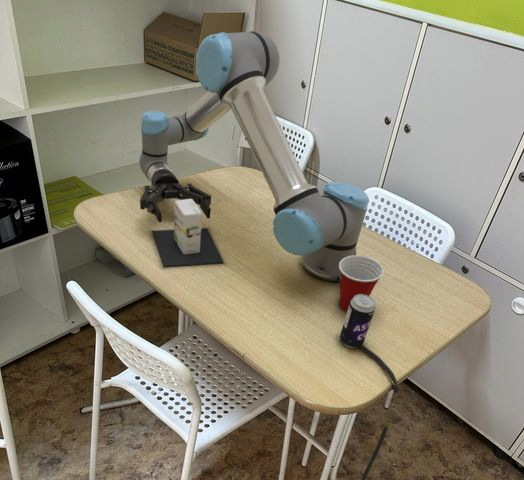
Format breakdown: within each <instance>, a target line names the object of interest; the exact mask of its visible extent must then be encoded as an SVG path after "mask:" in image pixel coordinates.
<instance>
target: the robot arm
mask: <svg viewBox="0 0 524 480" xmlns="http://www.w3.org/2000/svg"><path fill="white" fill-rule="evenodd" d="M195 62H196V63H195V67H196V69H195V70H196V75H197V78H198V82H199V83H200V85H201V87H202V88H203V89H204V90H205V91H206V92H205V93H204V94H203V95H202V96H201V97H200V98H199V99H197V101H195V102H194V103H193V104H192V105H191V106H190V107H189V108H188V109H187V110H185V112H184V113H182V114H181V115H174V116H169V117H168V115H167V114H166V113H164V112H162V111H157V110H155V111H154V110H148V111H145V112H144V113H143V114H142V116H141V126H140V131H141V147H142V148H141V153H140V155H139V158H138V159H139V160H138V162H139V167H140V169H141V171H142V173H143V174H144V177H146V179H147V181H148V182H149V184H150V186H151V187H150V186H149V185H144V191H143V194H142V195H141V198H140V199H139V203H140V204H139V209H140V210H146V209H147V210H146V211H147V213H149V214H150V215H154V217H155V218H156V220H157V222H158V223H162V211H161V208H160V207H159V206H158V205H159V204H160V203H163V202H164V201H165V200H171V199H177V200H185V199H193V201H194V202H195V204H196V205H197V206H199V209H200V211H201V212H202V214H204V216H205V217H206V219H211V213H212V212H211V210H212V209H211V204H212V195H211V194H209V193H207V192H205V191H203V190H201V189H199V188H197V187H195V186H194V185H193V184H192V183H189V182H188V183H187V184H186V186H185V185H184V186H183V185H182V184H181V183H180V181H179V179H178V178H177V176H176V175H175V173H174V171H173V170H172V168H171V167H170V166H169V164H168V153H169V146H172V145H173V146H174V145H176V144H177V145H178V144H181V143H187V142H193V141H198V140H200V139H203V138H205V137H206V136H207V135H208V132H209V129H210V127H211V126H212V125H214V124H215V123H216V122H217V121H218V120H219V119H221V118H222V117H223V116H224V115H226V114H227V113H228V112H230V111H231V112H232V113H233V115H234V117H235V119H236V122H237V123H238V126H239V127H240V130H241V132H242V134H243V136H244V139H245V140H246V142H247V144H248V146H249V148H250V150H251V153H252V154H253V157H254V158H255V161H256V163H257V165H258V167H259V168H260V171H261V173H262V175H263V177H264V180H265V181H266V184H267V185H268V188H269V191H271V194H272V196H273V198H274V205H273V209H272V210H273V212H274V214H275V217H274V219H273V221H272V225H273V228H272V231H273V235H274V238H275V240H276V242H277V243H278V244H279V245H280V247H281V248H282V249H283V250H285V251H286V252H287V253H290V254H292V255H295V256H302V258H301V266H302V268H303V269H304V270H305V271H306V272H307V273H308V274H309V275H311V276H313V277H315V279H316V278H317V279H319V280H321V281H326V282H332V283H338V285H339V288H340V287H341V271H340V269H339V262H340V261H341V260H342V259H343V258H345V257H348V256H354V255H357V245H358V241H359V237H360V235H361V231H362V227H363V224H364V222H365V217H366V213H367V211H368V206H369V201H370V199H369V195H368V194H367V193H366V191H364V190H363V189H361V188H359V187H357V186H355V185H352V184H349V183H345V182H339V181H330V182H328V183H326V184H325V185H324V188H323V194H322V195H321V194H320V192H319V190H318V187H317V186H316V185H313V184H310V183H309V182H308V181H307V180H306V179H307V178H306V176H305V175H304V173H303V171H302V169H301V166H300V164H299V163H298V160H297V158H296V156H295V154H294V152H293V150H292V148H291V145H290V143H289V141H288V139H287V136H286V135H285V133H284V130H283V129H282V127H281V125H280V122H279V120H278V118H277V115H276V114H275V112H274V110H273V107H272V105H271V104H270V101H269V99H268V98H267V95H266V92H265V91H264V89H265V87H266V86H268V84H269V83H270V82H272V81H273V80H274V78H275V77H276V75H277V73H278V71H279V67H280V52H279V49H278V47H277V44H276V42H274V40H273V39H272V38H271V37H270V36H269V35H267V34H266V33H264V32H261V31H257V30H256V31H255V30H254V31H253V30H252V31H239V32H228V33H226V32H223V31H222V32H218V33H214V34H210V35H208V36H206V37H205V38H203V40H202V41H201V43H200V44H199V47H198V50H197V53H196V61H195ZM358 348H359V349H361V351H363V352H364V353H365V354H367V355H368V356H370V357H371V358H373V360H375V361H376V362H377V363H378V364H379V365H380V366H381V368H382V369H383V370H384V371H385V372H386V371H387V372H386V373H387V374H388V376H389V378H390V381H391V380H392V381H393V383H394V385H393V383H392V381H391V384H392V390H393V392H394V393H395V394H398V393H399V388H398V387H399V386H398V381H397V378H396V376H395V374H394V373H393V371H392V370H391V368H390V367H389V366H388V365H387V364H386V363H385V362H384V360H382V358H381V357H379V356H378V355H377V354H376V353H375V352H374V351H372V350H371V349H369V348H368V347H366V346H365V345H364V344H363V345H361V346H360V347H358ZM395 384H396V385H395ZM388 430H389V427H384V428H382V431H381V434H380V437H379V439H378V441H377V443H376V446H375V448H374V451H373V453H372V455H371V457H370V459H369V461H368V463H367V466H366V467H365V470H364V471H363V474H362V476H361V479H360V480H366V479H367V476H368V475H369V473H370V470H371V468H372V467H373V464H374V462H375V460H376V458H377V456H378V454H379V452H380V449H381V447H382V445H383V443H384V441H385V438H386V435H387V432H388Z"/></svg>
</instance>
